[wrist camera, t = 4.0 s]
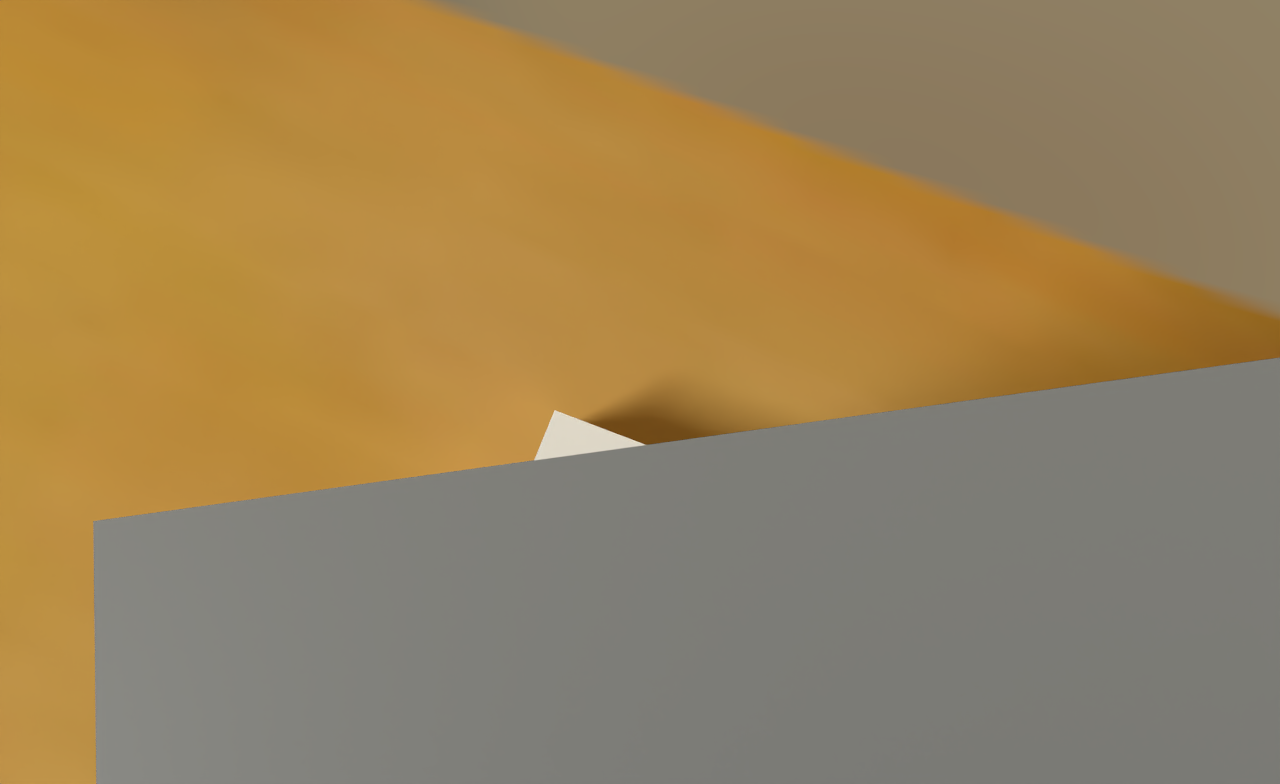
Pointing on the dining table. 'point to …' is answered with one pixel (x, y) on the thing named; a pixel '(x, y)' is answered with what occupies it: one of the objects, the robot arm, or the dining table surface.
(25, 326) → the dining table surface
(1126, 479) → the tall grey box
